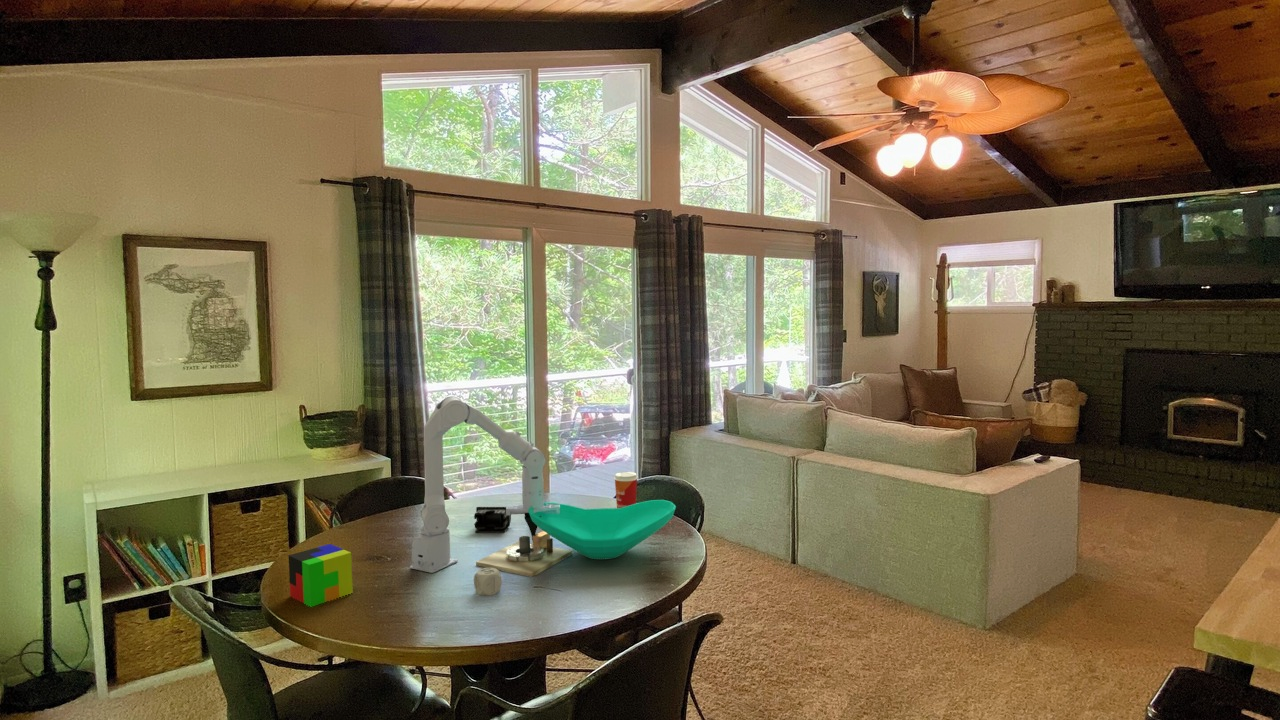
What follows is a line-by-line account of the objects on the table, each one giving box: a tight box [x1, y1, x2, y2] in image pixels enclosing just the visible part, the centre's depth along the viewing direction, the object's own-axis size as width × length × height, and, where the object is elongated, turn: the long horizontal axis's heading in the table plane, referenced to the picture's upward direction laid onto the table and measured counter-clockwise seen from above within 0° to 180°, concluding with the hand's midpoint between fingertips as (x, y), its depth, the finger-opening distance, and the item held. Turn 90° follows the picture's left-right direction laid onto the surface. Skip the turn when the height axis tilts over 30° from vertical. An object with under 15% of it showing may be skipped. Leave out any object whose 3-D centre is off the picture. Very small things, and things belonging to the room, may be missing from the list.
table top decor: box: [528, 499, 677, 560], centre depth 190 cm, size 40×28×13 cm
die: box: [473, 567, 503, 597], centre depth 167 cm, size 5×5×5 cm
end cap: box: [473, 506, 512, 534], centre depth 214 cm, size 10×7×7 cm
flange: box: [506, 530, 551, 562], centre depth 190 cm, size 14×10×4 cm
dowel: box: [547, 537, 554, 553], centre depth 191 cm, size 2×2×4 cm
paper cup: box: [613, 471, 639, 508], centre depth 224 cm, size 8×8×14 cm
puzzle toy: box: [288, 543, 354, 608], centre depth 166 cm, size 10×10×10 cm
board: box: [475, 535, 573, 578], centre depth 188 cm, size 18×18×6 cm
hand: (533, 539), depth 195 cm, fingers closed
